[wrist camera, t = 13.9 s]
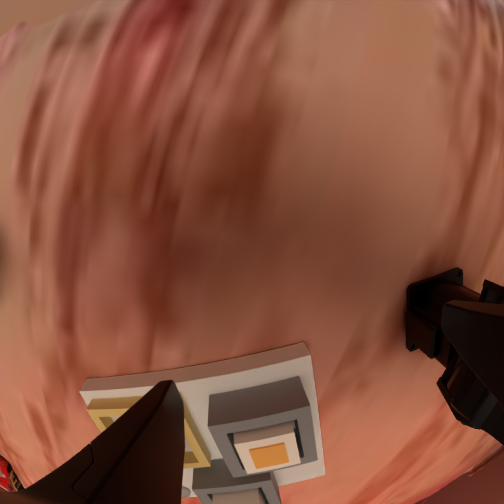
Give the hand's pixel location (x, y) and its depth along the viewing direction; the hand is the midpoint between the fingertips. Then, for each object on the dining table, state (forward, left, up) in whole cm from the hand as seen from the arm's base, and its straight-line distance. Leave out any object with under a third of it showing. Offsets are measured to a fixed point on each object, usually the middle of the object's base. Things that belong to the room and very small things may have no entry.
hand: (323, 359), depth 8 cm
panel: (+8, +16, -12) cm, 21 cm away
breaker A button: (+3, +12, -10) cm, 16 cm away
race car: (+51, +28, -13) cm, 59 cm away
